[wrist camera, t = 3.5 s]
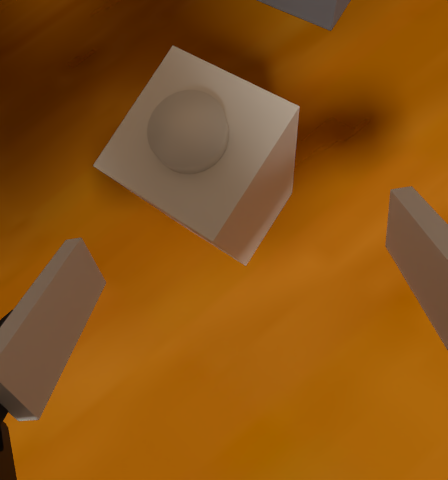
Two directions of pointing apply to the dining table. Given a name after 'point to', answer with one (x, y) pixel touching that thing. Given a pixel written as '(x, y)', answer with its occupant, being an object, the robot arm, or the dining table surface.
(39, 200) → the dining table surface
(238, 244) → the tower brick
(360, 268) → the dining table surface
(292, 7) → the base plate
